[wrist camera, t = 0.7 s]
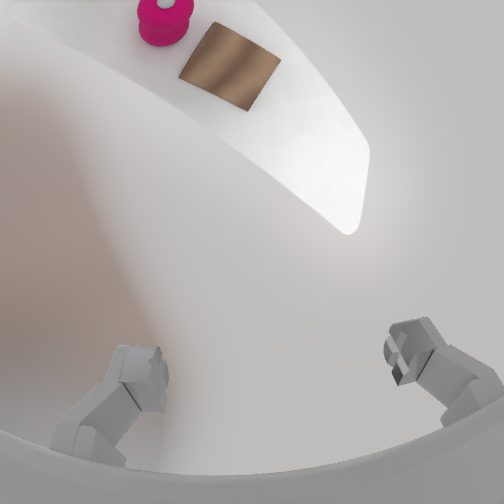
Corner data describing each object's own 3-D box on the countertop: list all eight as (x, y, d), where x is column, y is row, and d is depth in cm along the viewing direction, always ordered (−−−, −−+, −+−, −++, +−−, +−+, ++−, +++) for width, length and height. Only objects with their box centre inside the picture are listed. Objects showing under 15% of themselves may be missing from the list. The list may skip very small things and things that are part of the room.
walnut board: (178, 77, 38) (179, 77, 37) (213, 22, 34) (214, 21, 33) (245, 110, 45) (247, 111, 44) (278, 60, 41) (281, 60, 40)
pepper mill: (190, 10, 32) (211, -28, 16) (182, 49, 36) (198, 33, 20) (144, 9, 29) (135, -31, 14) (137, 48, 33) (121, 31, 18)
